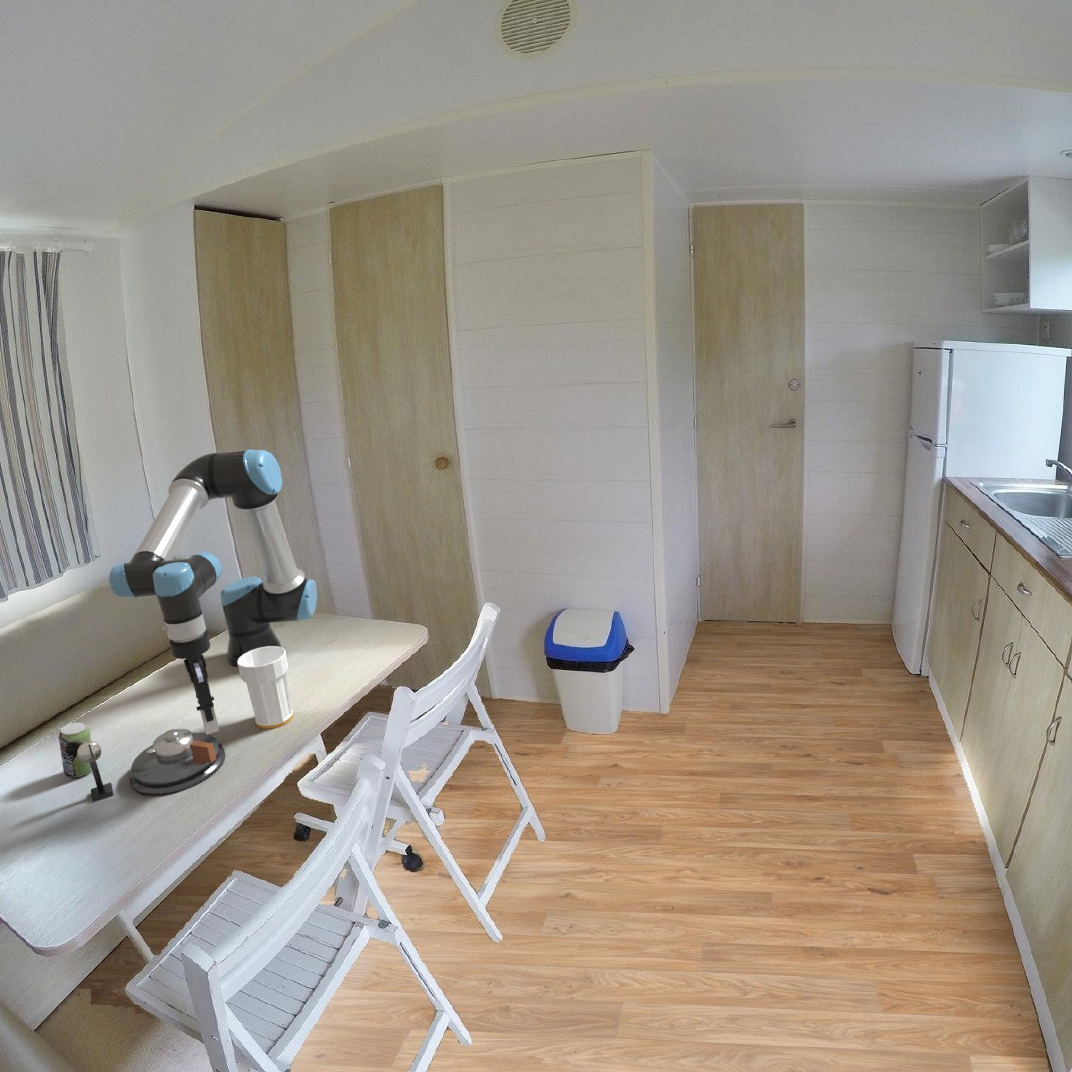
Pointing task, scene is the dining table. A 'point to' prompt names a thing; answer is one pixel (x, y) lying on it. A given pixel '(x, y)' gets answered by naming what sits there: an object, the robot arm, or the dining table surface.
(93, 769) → the dial stand
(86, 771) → the beverage can
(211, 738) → the turntable
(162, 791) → the turntable base
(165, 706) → the dining table surface
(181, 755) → the cover
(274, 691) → the cup
